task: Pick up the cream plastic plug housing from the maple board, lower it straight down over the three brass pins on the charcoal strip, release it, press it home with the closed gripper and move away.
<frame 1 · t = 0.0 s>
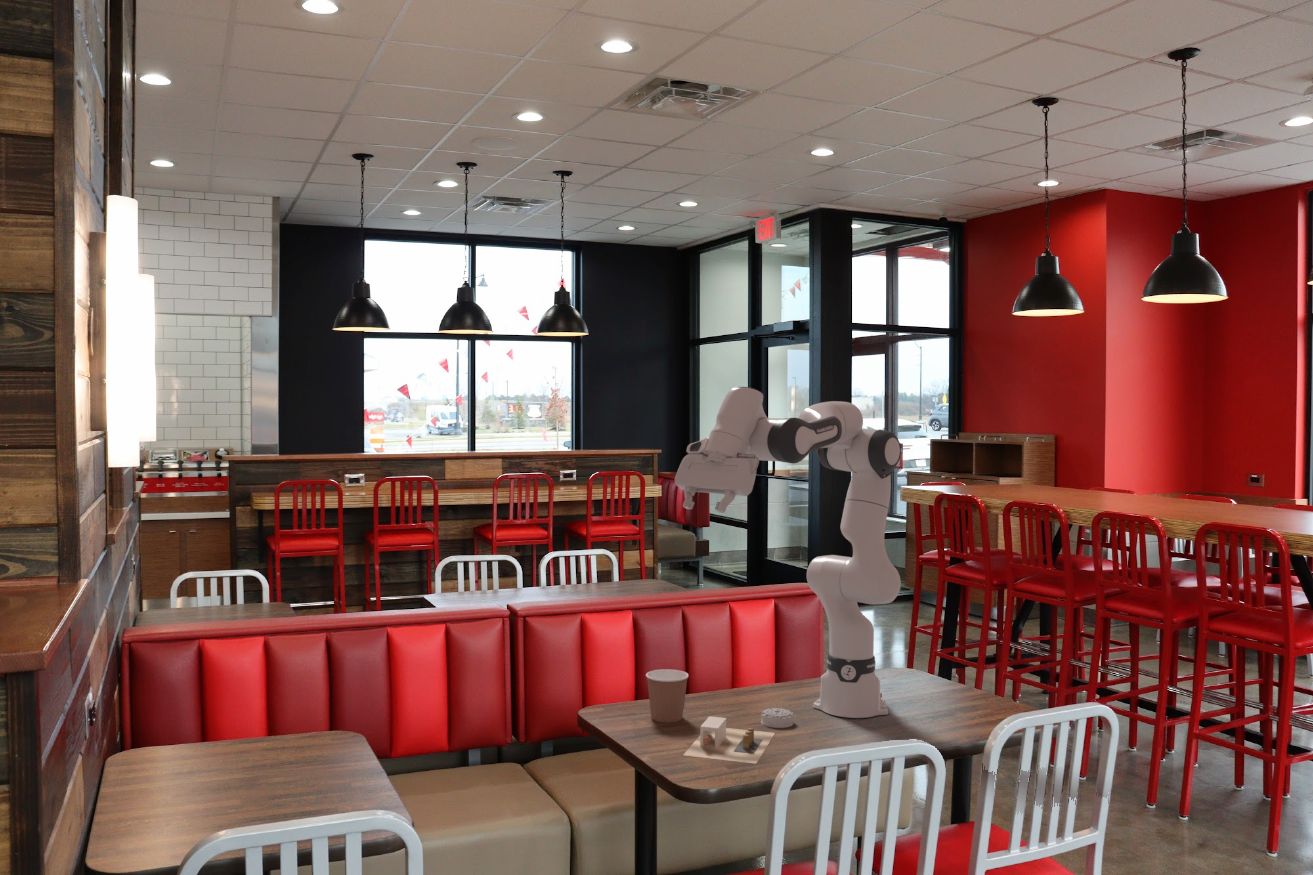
hand: (703, 509, 220), 54 cm above the table, tool tilted 30°, fingers open, 8 cm apart
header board: (730, 750, 228), on the table
coffee cup: (666, 724, 247), on the table
plug housing: (713, 741, 229), point 1 cm above the table, touching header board
mechanical component: (777, 730, 244), on the table
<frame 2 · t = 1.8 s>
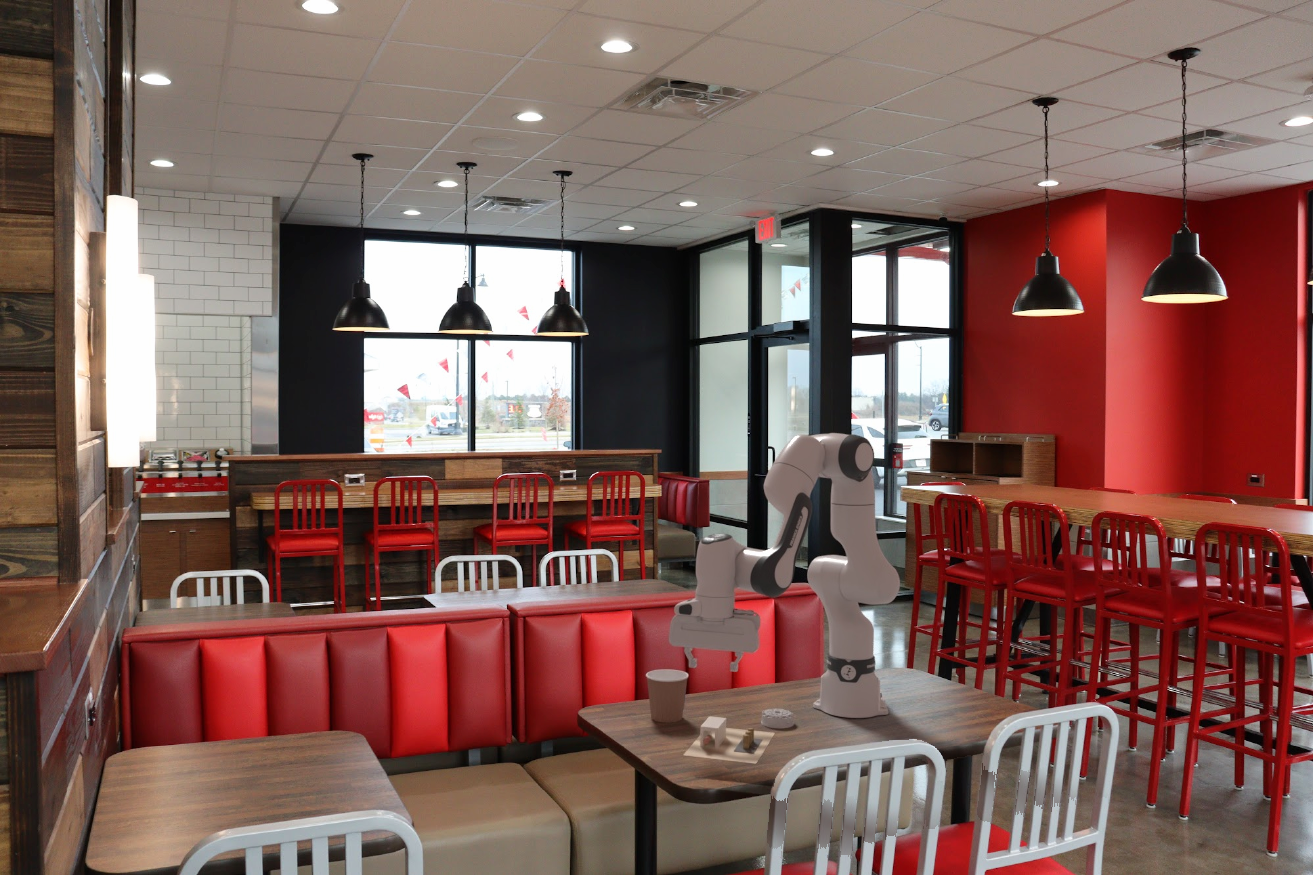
hand: (713, 668, 228), 18 cm above the table, tool pointing down, fingers open, 8 cm apart
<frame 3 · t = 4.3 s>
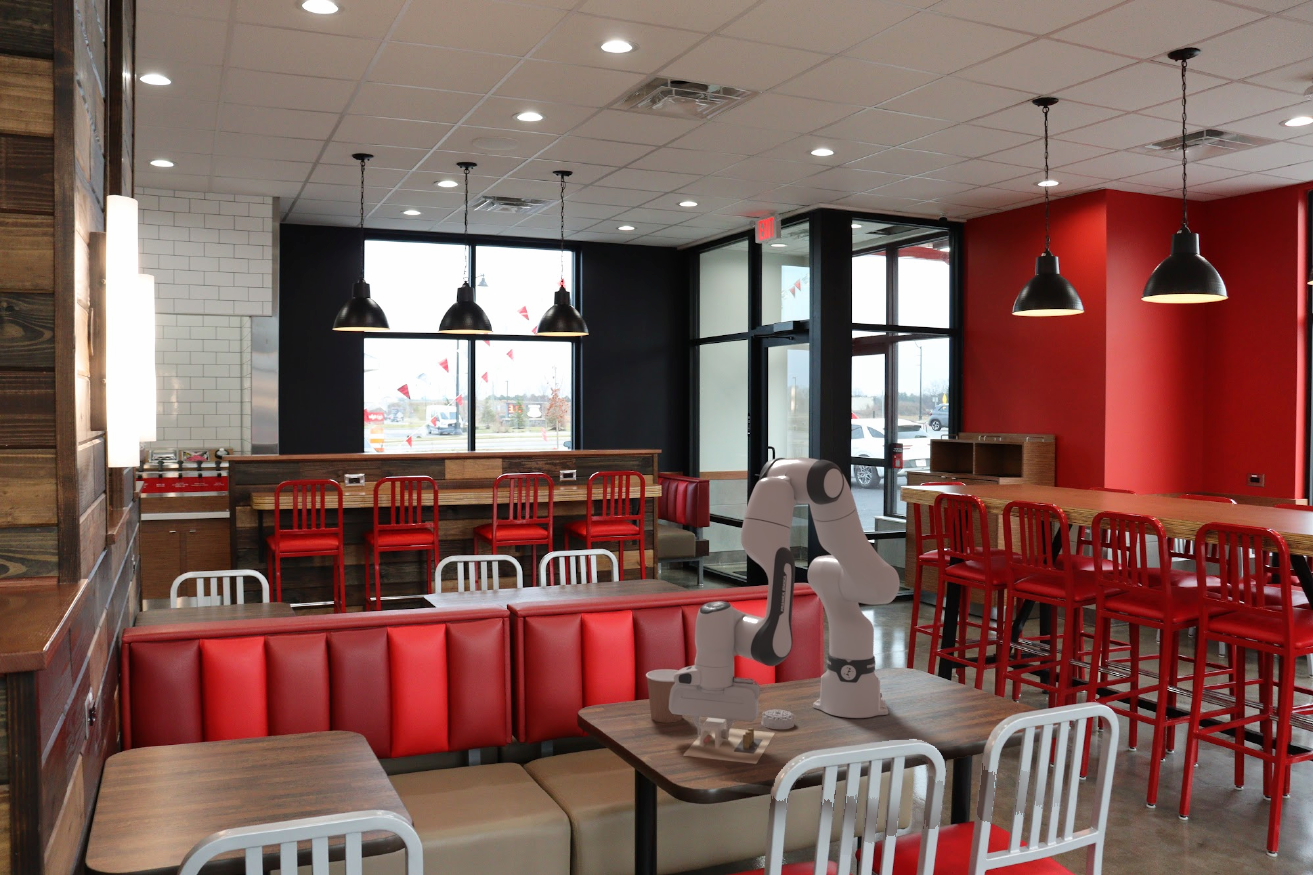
hand: (713, 736, 229), 3 cm above the table, tool pointing down, fingers closed on plug housing, 4 cm apart
plug housing: (713, 741, 229), point 2 cm above the table, touching gripper, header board
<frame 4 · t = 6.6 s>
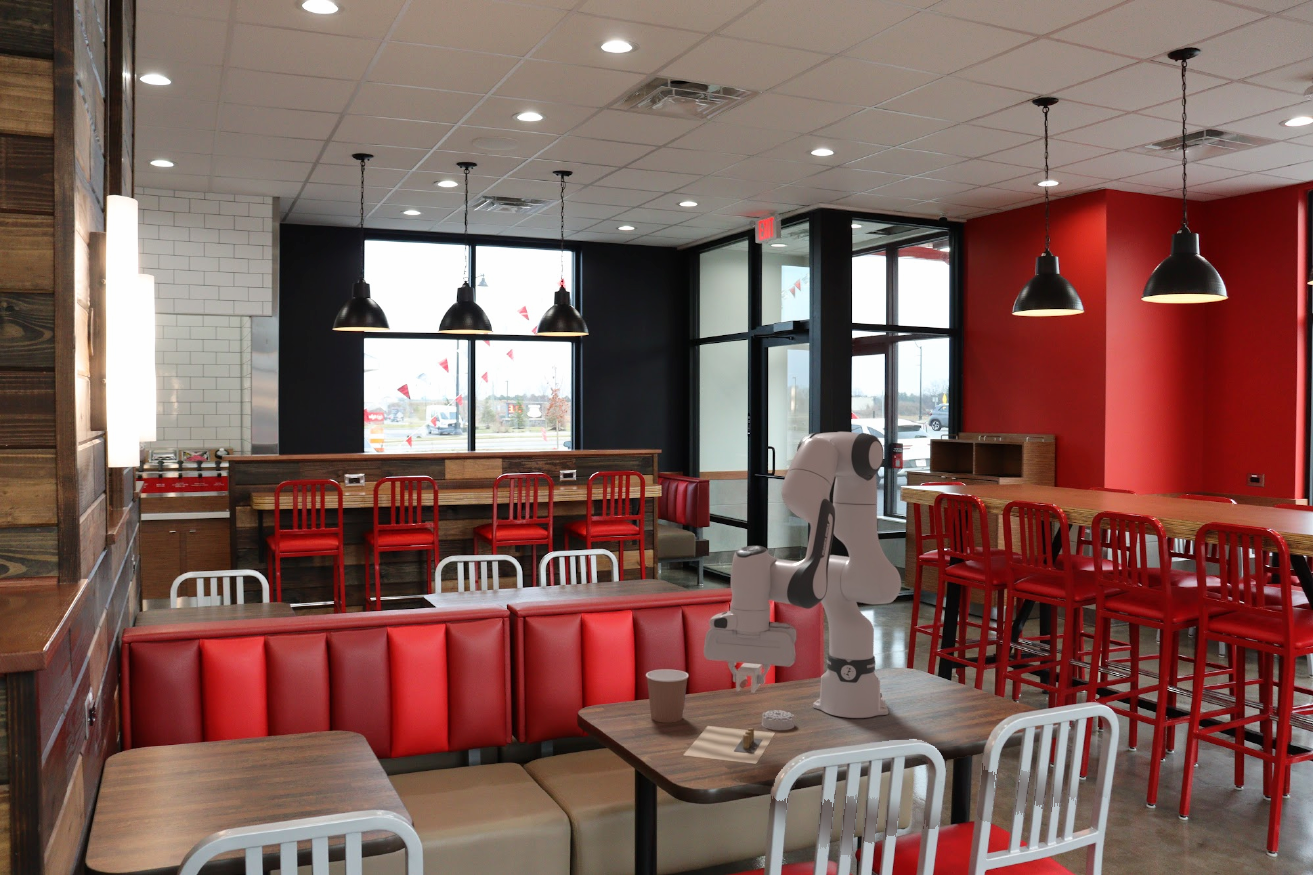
hand: (748, 682, 226), 16 cm above the table, tool pointing down, fingers closed on plug housing, 4 cm apart
plug housing: (748, 687, 226), point 14 cm above the table, touching gripper
when the fingers open (3 cm above the table, at t = 8.9 s): plug housing stays where it is, resting on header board.
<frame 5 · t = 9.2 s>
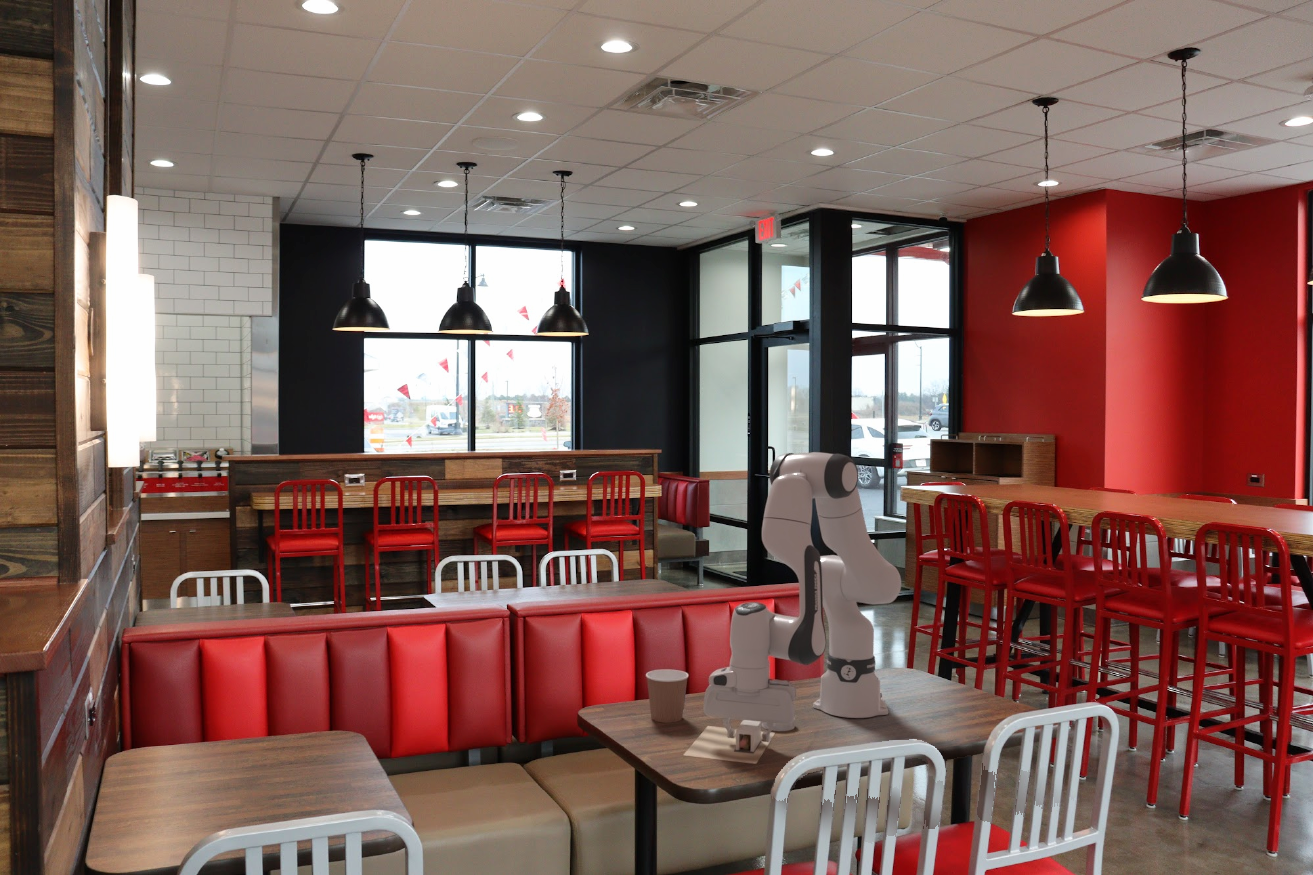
hand: (748, 739, 227), 3 cm above the table, tool pointing down, fingers open, 6 cm apart
plug housing: (748, 745, 227), point 2 cm above the table, touching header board
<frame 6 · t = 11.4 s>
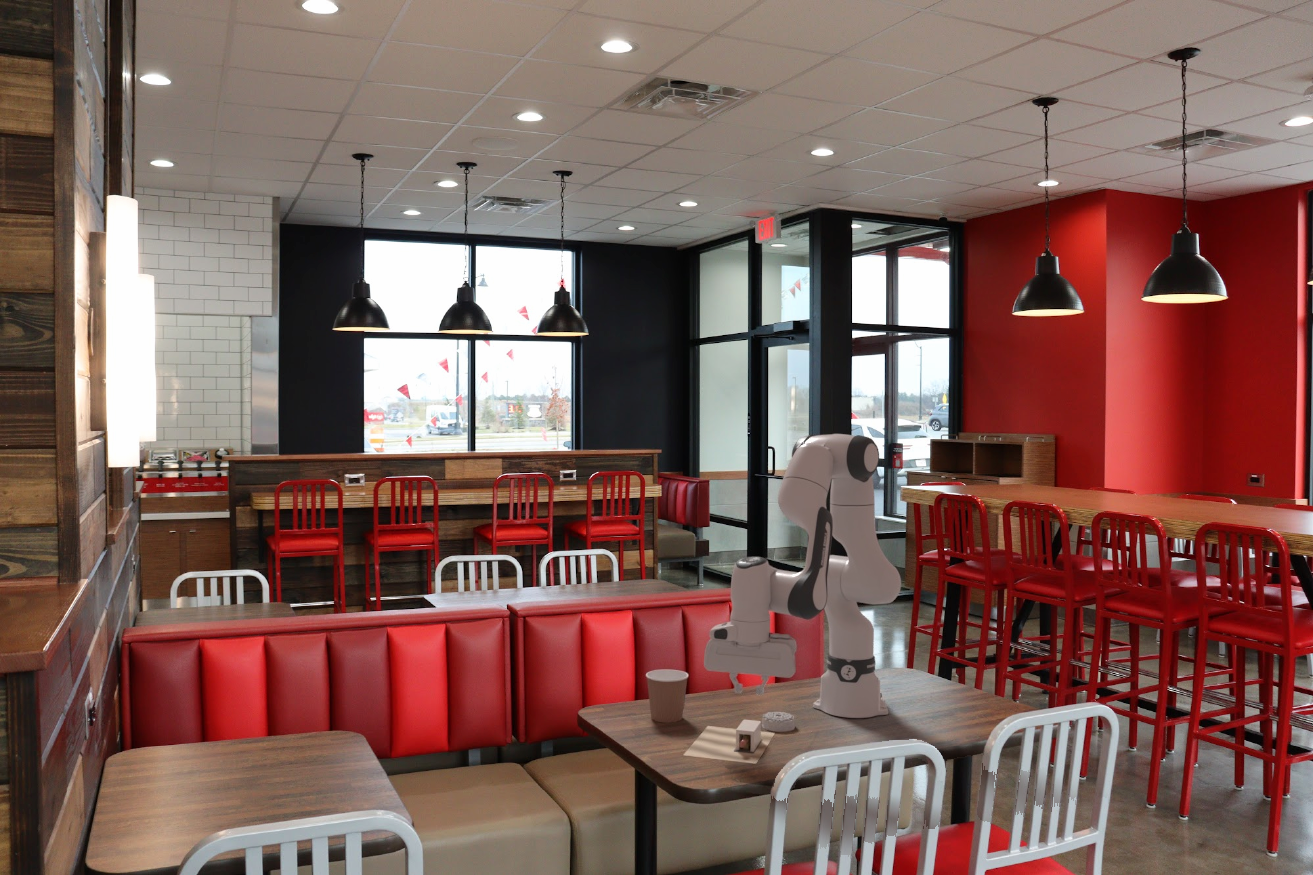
hand: (749, 693, 227), 13 cm above the table, tool pointing down, fingers open, 3 cm apart
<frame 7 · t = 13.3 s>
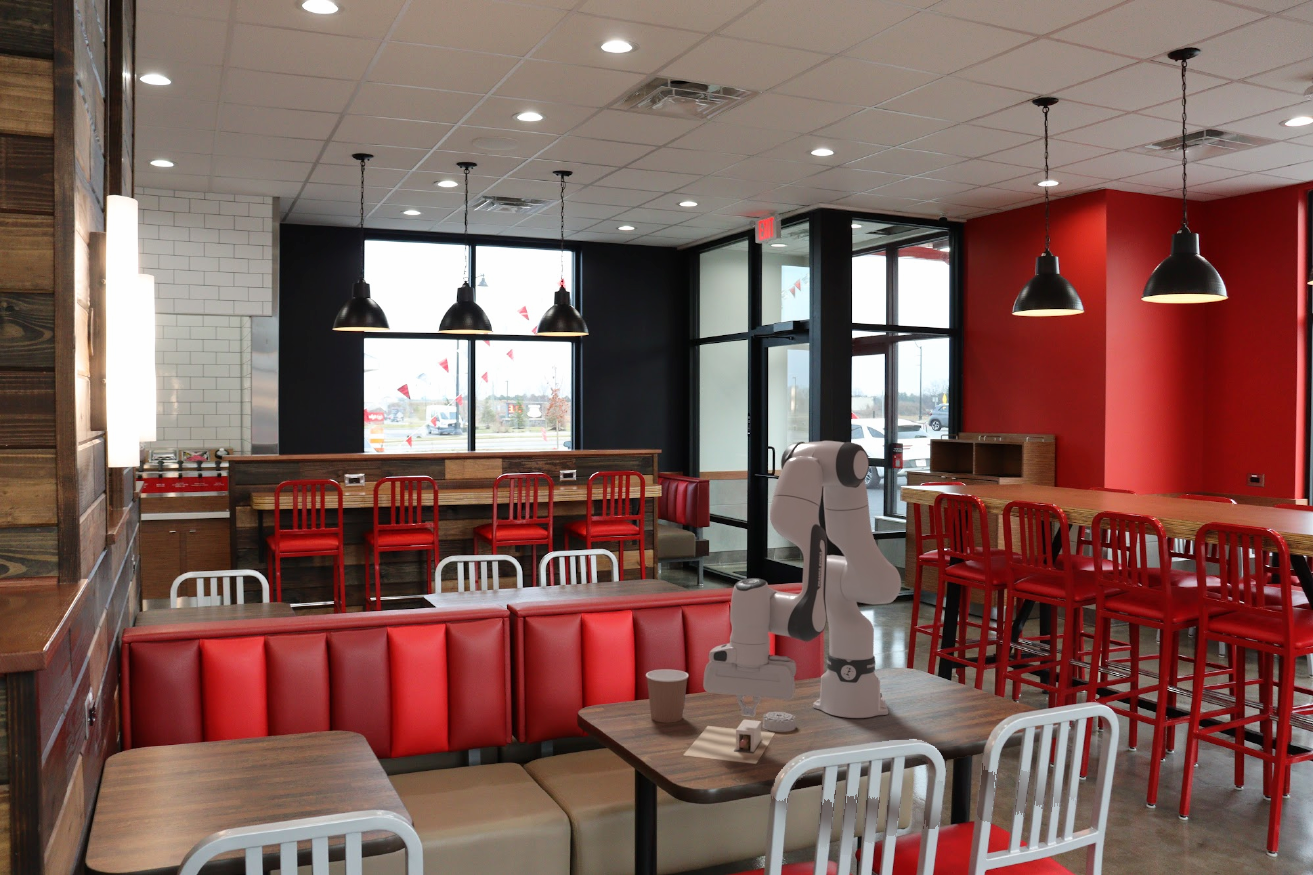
hand: (748, 715, 227), 8 cm above the table, tool pointing down, fingers closed
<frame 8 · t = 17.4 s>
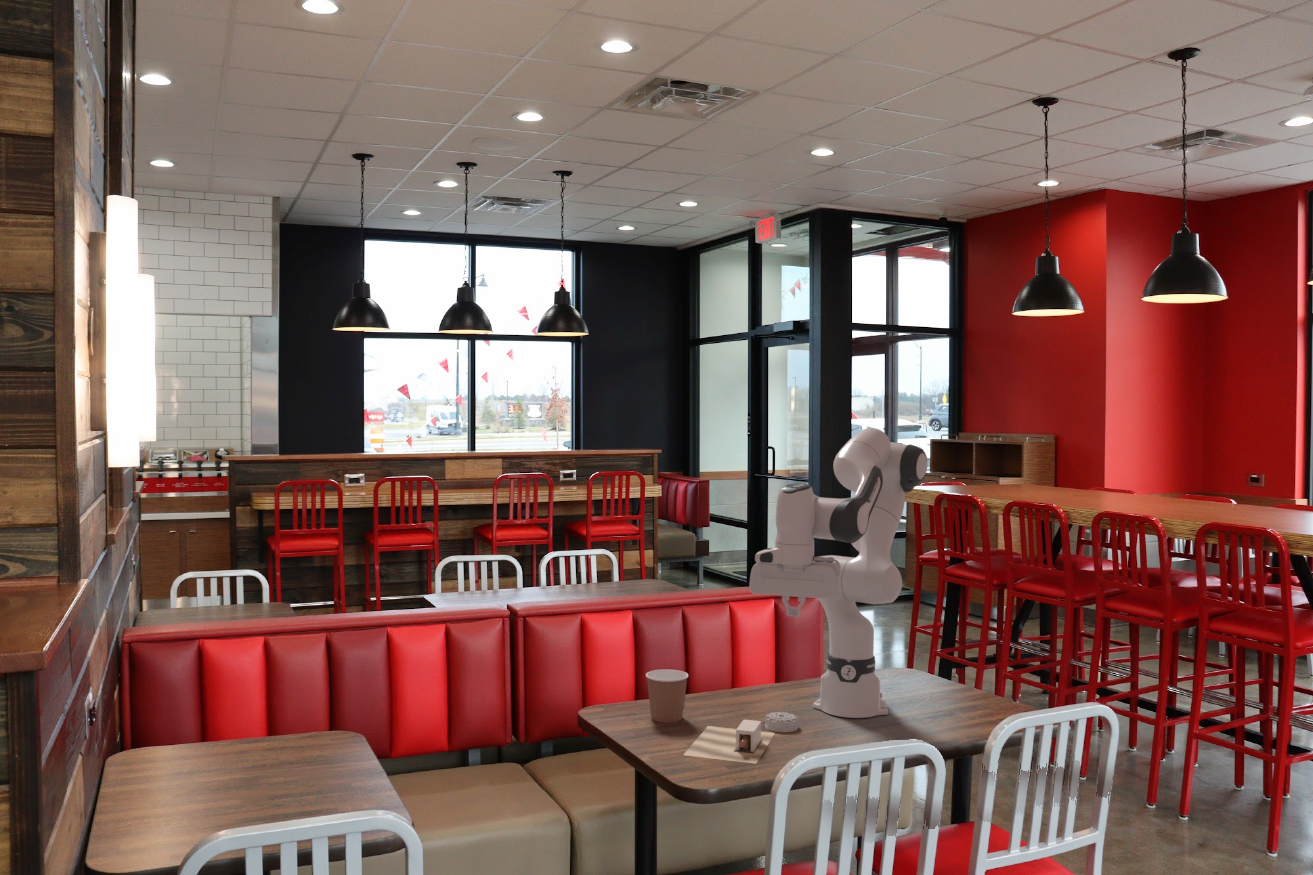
hand: (793, 615, 233), 29 cm above the table, tool pointing down, fingers closed
at the end: plug housing 0.0 cm from the target spot on the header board, point 1.6 cm above the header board's base; plug housing tilted 0°; the gripper is holding nothing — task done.
